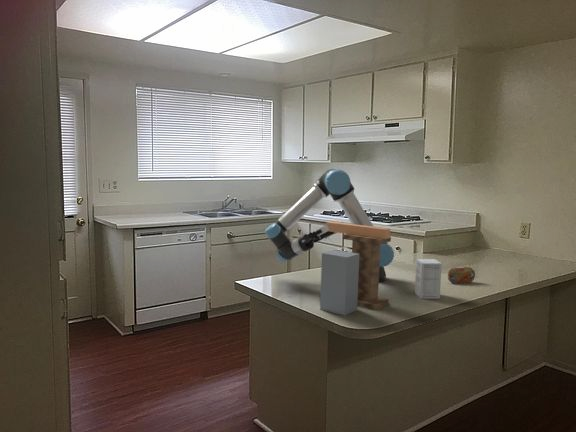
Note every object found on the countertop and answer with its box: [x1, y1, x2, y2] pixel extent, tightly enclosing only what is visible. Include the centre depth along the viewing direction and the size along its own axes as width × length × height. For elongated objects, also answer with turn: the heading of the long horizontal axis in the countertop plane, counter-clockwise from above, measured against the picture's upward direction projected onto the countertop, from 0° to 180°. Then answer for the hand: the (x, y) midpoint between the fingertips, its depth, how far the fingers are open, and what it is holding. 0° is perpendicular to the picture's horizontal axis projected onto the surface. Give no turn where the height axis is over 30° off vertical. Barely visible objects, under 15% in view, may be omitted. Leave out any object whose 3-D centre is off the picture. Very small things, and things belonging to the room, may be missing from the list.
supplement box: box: [414, 258, 443, 300], centre depth 225 cm, size 10×9×17 cm
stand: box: [342, 233, 392, 311], centre depth 212 cm, size 18×12×30 cm, turn 52°
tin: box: [447, 266, 476, 285], centre depth 252 cm, size 15×3×8 cm, turn 105°
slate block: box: [319, 249, 359, 316], centre depth 202 cm, size 12×10×24 cm
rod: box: [325, 221, 391, 239], centre depth 213 cm, size 30×4×4 cm, turn 52°
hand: (336, 226), depth 219 cm, fingers open, 13 cm apart
